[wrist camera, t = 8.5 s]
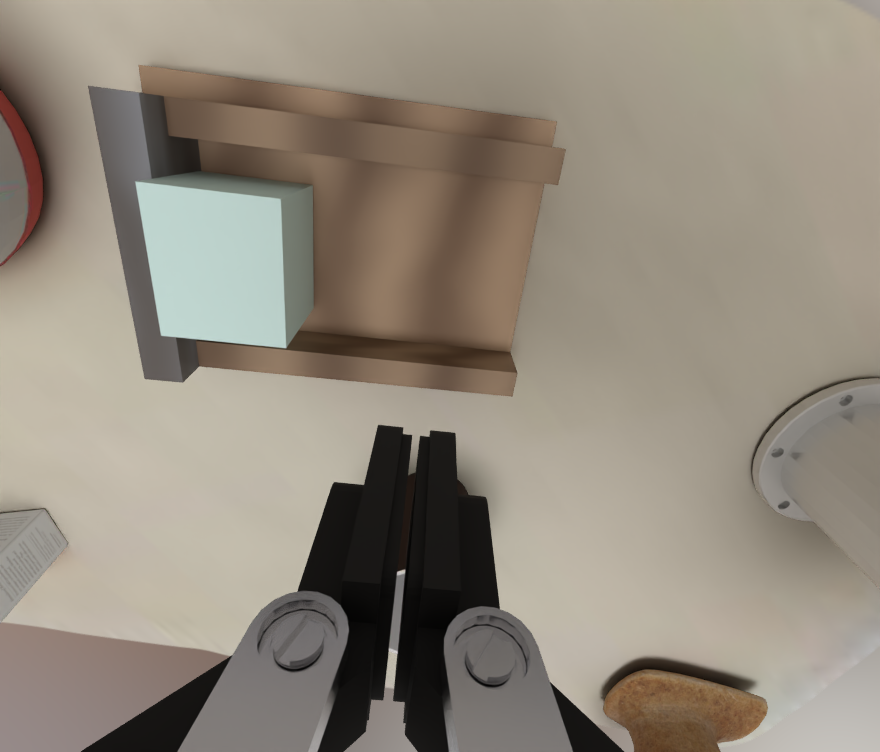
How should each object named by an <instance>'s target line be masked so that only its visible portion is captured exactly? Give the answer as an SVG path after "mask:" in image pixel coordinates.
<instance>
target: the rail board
mask: <svg viewBox="0 0 880 752" xmlns="http://www.w3.org/2000/svg"><path fill="white" fill-rule="evenodd" d="M139 72H140V78H141V85H142V92H143V93H138V92H131V91H123V90H116V89H108V88H101V87H93V86H88V88H89V94H90V99H91V104H92V109H93V114H94V119H95V125H96V130H97V135H98V140H99V145H100V150H101V156H102V161H103V166H104V171H105V176H106V181H107V187H108V192H109V197H110V202H111V207H112V212H113V218H114V223H115V228H116V233H117V238H118V243H119V249H120V254H121V259H122V264H123V269H124V274H125V280H126V285H127V290H128V295H129V300H130V305H131V311H132V316H133V321H134V326H135V331H136V336H137V342H138V347H139V352H140V357H141V362H142V367H143V373H144V378H145V379H151V380H162V381H172V382H184V381H185V380H186V379H187V378H188V377H189V376H190V375H191V374H192V373H193V372H194V371H195V370H196V369H197V368H198V367H199V366H202V367H212V368H223V369H233V370H243V371H254V372H264V373H274V374H285V375H295V376H305V377H316V378H326V379H336V380H347V381H357V382H367V383H378V384H388V385H398V386H409V387H419V388H430V389H440V390H450V391H461V392H471V393H481V394H492V395H502V396H513V391H514V387H515V382H516V377H517V371H516V368H515V365H514V362H513V359H512V356H511V353H510V350H511V345H512V340H513V335H514V330H515V325H516V321H517V316H518V311H519V306H520V301H521V296H522V291H523V286H524V281H525V276H526V271H527V266H528V262H529V257H530V252H531V247H532V242H533V237H534V232H535V227H536V222H537V217H538V212H539V208H540V203H541V198H542V193H543V188H544V183H546V184H554V185H558V183H559V179H560V174H561V169H562V165H563V160H564V155H565V151H566V149H562V148H554V147H552V144H553V139H554V134H555V129H556V124H557V122H555V121H548V120H541V119H533V118H526V117H518V116H511V115H504V114H496V113H489V112H482V111H474V110H467V109H459V108H452V107H445V106H437V105H430V104H423V103H415V102H408V101H400V100H393V99H386V98H378V97H371V96H364V95H356V94H349V93H342V92H334V91H327V90H319V89H312V88H305V87H297V86H290V85H283V84H275V83H268V82H260V81H253V80H246V79H238V78H231V77H224V76H216V75H209V74H201V73H194V72H187V71H179V70H172V69H165V68H157V67H150V66H142V65H139ZM196 171H203V172H211V173H219V174H227V175H235V176H243V177H251V178H260V179H268V180H276V181H284V182H292V183H300V184H309V185H313V276H314V308H313V310H312V311H311V313H310V314H309V316H308V317H307V319H306V320H305V321H304V323H303V324H302V326H301V327H300V329H299V330H298V332H297V333H296V335H295V336H294V338H293V339H292V340H291V342H290V343H289V345H288V346H287V348H279V347H269V346H259V345H249V344H239V343H229V342H219V341H209V340H199V339H189V338H179V337H169V336H161V332H160V326H159V320H158V314H157V308H156V302H155V296H154V290H153V285H152V279H151V273H150V267H149V261H148V255H147V249H146V243H145V237H144V231H143V225H142V219H141V213H140V207H139V201H138V195H137V189H136V183H135V181H141V180H147V179H153V178H160V177H166V176H172V175H178V174H184V173H190V172H196Z"/></svg>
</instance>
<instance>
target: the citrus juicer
mask: <svg viewBox="0 0 880 752" xmlns="http://www.w3.org/2000/svg"><path fill="white" fill-rule="evenodd" d="M42 201H43V178H42V173H41V168H40V163H39V159H38V155H37V153H36V150H35V147H34V145H33V142H32V140H31V137H30V135H29V132H28V131H27V129H26V127H25V125H24V124H23V122H22V120H21V118H20V117H19V115H18V113H17V111H16V110H15V108H14V107H13V106H12V104H11V103H10V102H9V100H8V99H7V98H6V96H5V95H4V94H3V92H2V91H1V90H0V266H2V265H3V264H5V263H6V262H7V260H8V259H9V258H10V257H11V256H12V255H13V254H14V253H15V252H16V251H17V250H18V249H19V248H20V247H21V245H22V244H23V243H24V242H25V240H26V239H27V238H28V236H29V235H30V233H31V232H32V230H33V228H34V226H35V224H36V222H37V220H38V218H39V215H40V210H41V206H42Z"/></svg>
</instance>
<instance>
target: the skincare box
mask: <svg viewBox="0 0 880 752" xmlns="http://www.w3.org/2000/svg"><path fill="white" fill-rule="evenodd" d="M67 544H68V543H67V541H66V540H65V538H64V537H63V535H62V534H61V532H60V531H59V529H58V528H57V526H56V525H55V523H54V522H53V520H52V519H51V517H50V516H49V514H48V513H47V511H46V510H45V509H40V510H31V511H21V512H12V513H2V514H0V623H1V622H2V621H3V619H4V618H5V617H6V616H7V615H8V614H9V613H10V611H11V610H12V609H13V608H14V607H15V606H16V604H17V603H18V602H19V601H20V600H21V599H22V598H23V596H24V595H25V594H26V593H27V592H28V591H29V589H30V588H31V587H32V586H33V585H34V584H35V582H36V581H37V580H38V579H39V578H40V577H41V576H42V574H43V573H44V572H45V571H46V570H47V569H48V568H49V566H50V565H51V564H52V563H53V562H54V560H55V559H56V558H57V557H58V556H59V555H60V554H61V552H62V551H63V550H64V549H65V548H66V547H67Z"/></svg>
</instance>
